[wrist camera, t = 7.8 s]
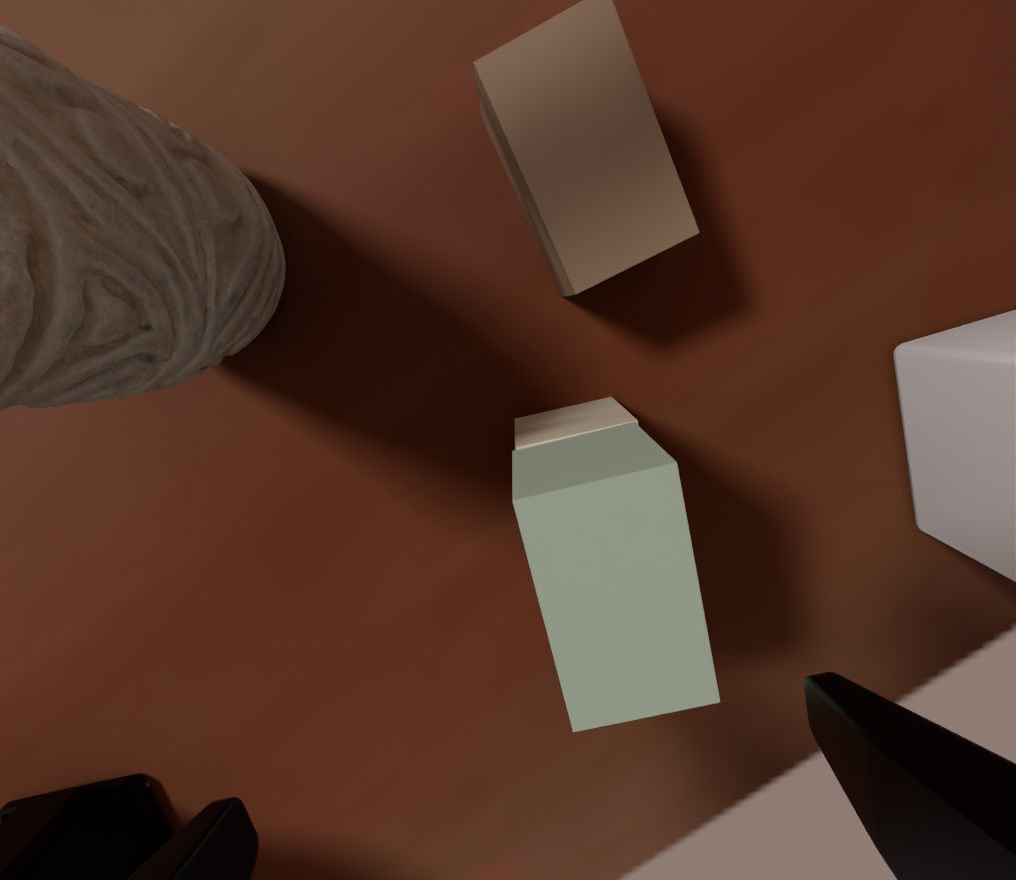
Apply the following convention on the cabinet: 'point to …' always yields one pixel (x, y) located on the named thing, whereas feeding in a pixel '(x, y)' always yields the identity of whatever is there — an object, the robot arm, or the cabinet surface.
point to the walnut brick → (583, 146)
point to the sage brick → (614, 575)
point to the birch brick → (569, 422)
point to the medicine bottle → (963, 436)
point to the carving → (118, 242)
